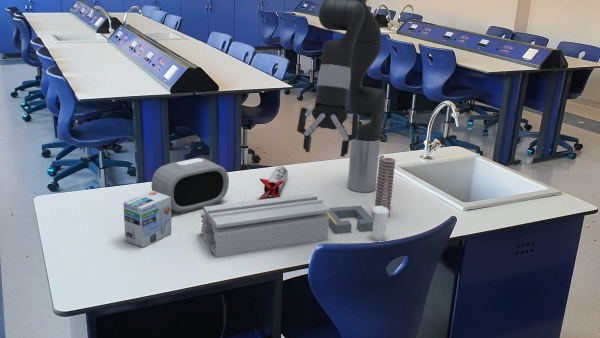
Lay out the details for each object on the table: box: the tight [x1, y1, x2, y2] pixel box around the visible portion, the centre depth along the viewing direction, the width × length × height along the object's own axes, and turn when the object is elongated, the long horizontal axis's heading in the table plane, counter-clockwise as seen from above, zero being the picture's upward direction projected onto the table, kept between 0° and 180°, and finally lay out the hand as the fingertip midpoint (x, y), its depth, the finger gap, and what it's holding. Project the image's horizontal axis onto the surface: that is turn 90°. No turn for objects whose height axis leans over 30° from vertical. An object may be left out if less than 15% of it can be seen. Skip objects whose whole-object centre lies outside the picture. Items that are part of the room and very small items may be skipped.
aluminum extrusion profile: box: [200, 192, 330, 258], centre depth 159 cm, size 14×31×10 cm, turn 115°
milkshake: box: [371, 205, 393, 242], centre depth 161 cm, size 4×5×10 cm
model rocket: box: [257, 165, 289, 200], centre depth 193 cm, size 11×23×10 cm
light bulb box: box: [122, 190, 172, 248], centre depth 155 cm, size 11×7×11 cm, turn 148°
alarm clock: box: [151, 157, 230, 214], centre depth 176 cm, size 21×10×13 cm, turn 131°
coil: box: [374, 154, 396, 215], centre depth 175 cm, size 5×5×18 cm
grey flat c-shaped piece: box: [325, 205, 372, 234], centre depth 171 cm, size 12×12×3 cm
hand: (324, 154), depth 143 cm, fingers open, 8 cm apart
